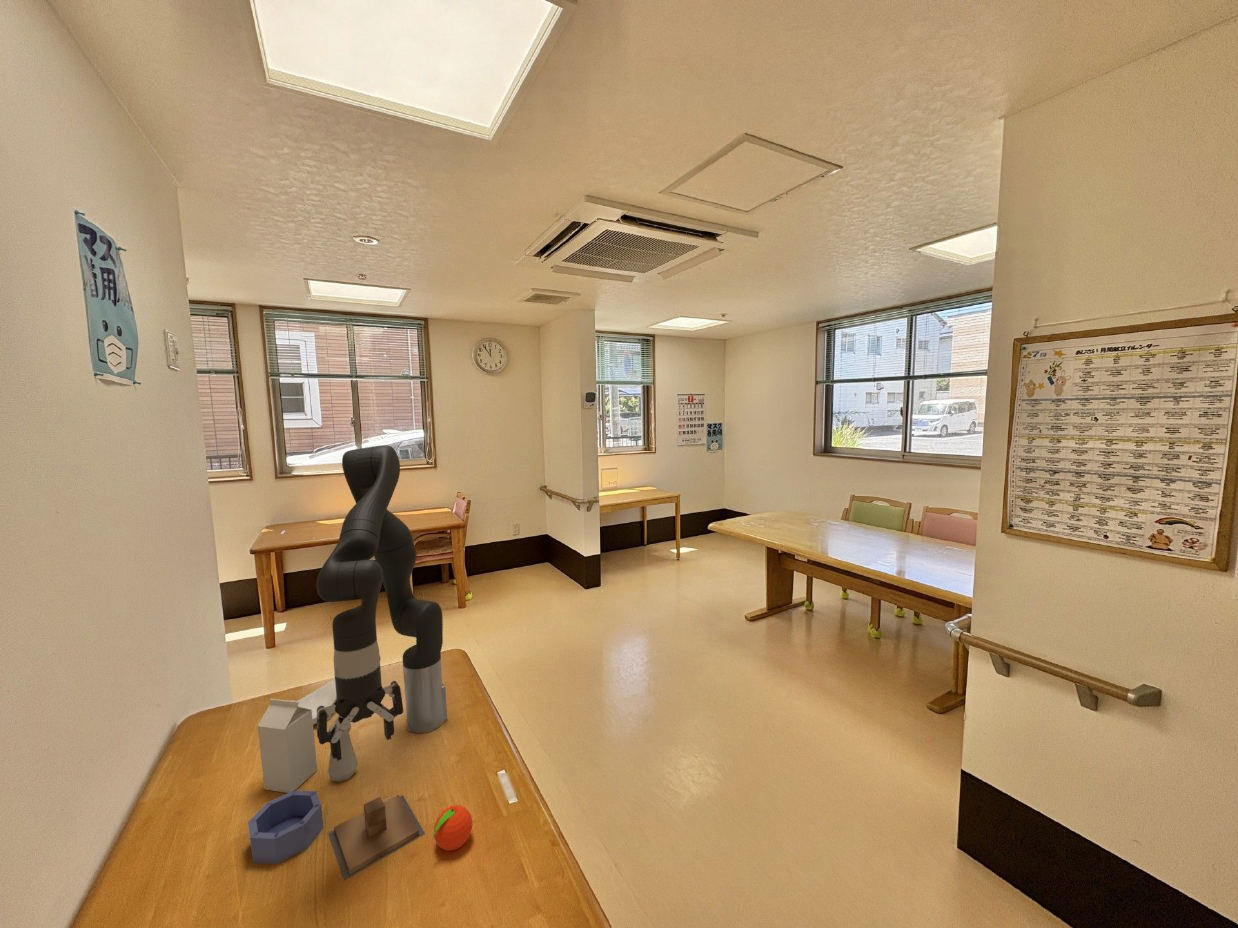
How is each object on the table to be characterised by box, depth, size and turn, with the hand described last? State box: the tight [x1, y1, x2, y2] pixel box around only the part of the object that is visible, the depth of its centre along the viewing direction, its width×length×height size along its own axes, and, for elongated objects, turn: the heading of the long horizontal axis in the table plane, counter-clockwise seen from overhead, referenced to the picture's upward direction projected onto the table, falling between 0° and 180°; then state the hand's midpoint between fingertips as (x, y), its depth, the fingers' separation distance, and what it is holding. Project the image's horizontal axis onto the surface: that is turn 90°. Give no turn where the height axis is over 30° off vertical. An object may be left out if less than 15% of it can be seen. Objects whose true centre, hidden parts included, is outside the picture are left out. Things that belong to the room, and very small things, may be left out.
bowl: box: [247, 789, 324, 865], centre depth 95 cm, size 11×11×6 cm
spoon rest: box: [297, 678, 336, 726], centre depth 137 cm, size 24×12×7 cm, turn 157°
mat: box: [328, 794, 426, 881], centre depth 95 cm, size 14×13×1 cm
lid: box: [333, 794, 419, 874], centre depth 95 cm, size 12×12×6 cm
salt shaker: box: [327, 721, 358, 783], centre depth 110 cm, size 6×6×13 cm
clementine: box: [432, 804, 473, 852], centre depth 92 cm, size 8×7×7 cm
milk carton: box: [257, 698, 318, 794], centre depth 109 cm, size 7×7×19 cm
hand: (363, 747), depth 93 cm, fingers open, 8 cm apart
